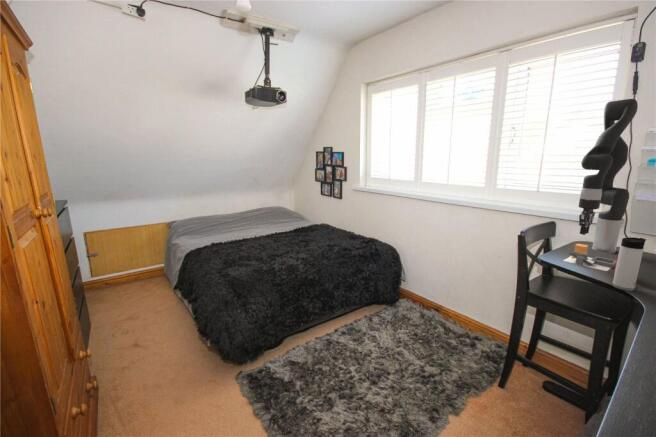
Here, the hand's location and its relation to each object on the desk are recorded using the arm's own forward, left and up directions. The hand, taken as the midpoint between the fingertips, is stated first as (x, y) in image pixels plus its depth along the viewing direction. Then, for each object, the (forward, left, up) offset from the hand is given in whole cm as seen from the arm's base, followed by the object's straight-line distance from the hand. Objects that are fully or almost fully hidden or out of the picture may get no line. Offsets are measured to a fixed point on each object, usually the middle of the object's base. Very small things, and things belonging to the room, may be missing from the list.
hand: (584, 233), depth 148 cm
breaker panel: (+5, +5, -13) cm, 15 cm away
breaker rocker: (+9, +3, -10) cm, 13 cm away
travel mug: (+24, +21, -13) cm, 35 cm away
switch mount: (+9, +3, -12) cm, 15 cm away
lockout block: (0, 0, -12) cm, 12 cm away
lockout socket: (+2, +9, -12) cm, 15 cm away
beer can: (+14, +19, -13) cm, 27 cm away
